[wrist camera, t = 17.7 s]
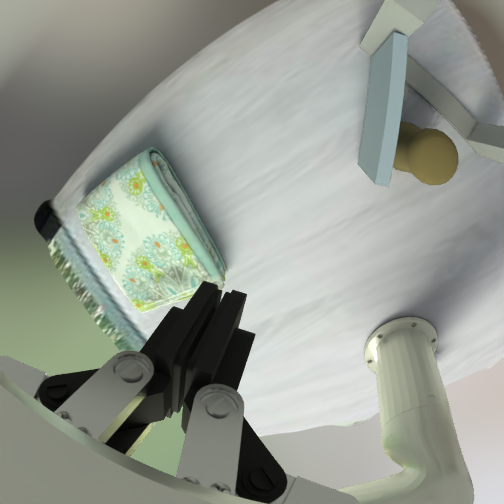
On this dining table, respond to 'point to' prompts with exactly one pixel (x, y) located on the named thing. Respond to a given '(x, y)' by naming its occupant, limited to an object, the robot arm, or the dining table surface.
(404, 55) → the door
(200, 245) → the towel
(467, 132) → the door frame
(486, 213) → the dining table surface
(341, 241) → the dining table surface
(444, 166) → the cork
